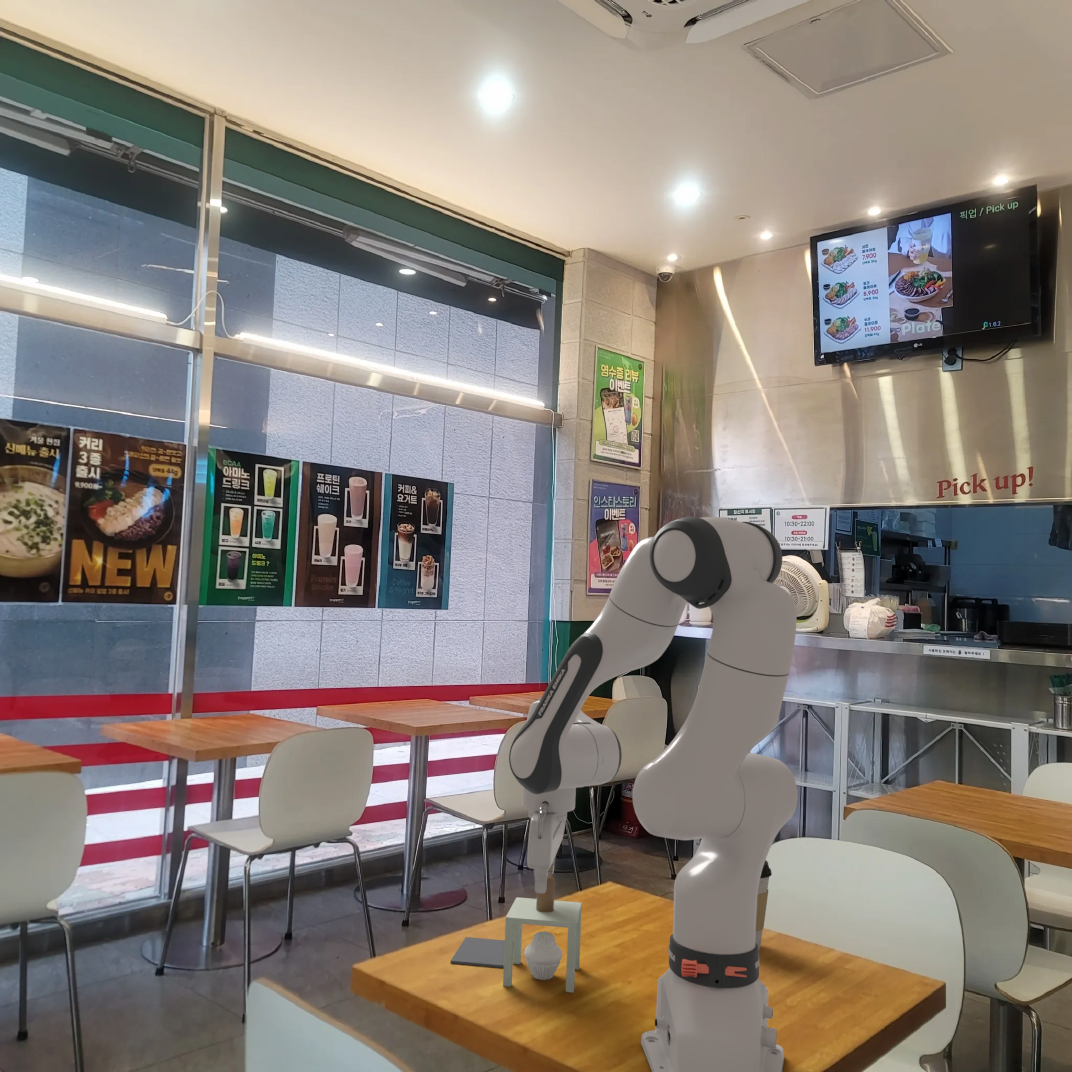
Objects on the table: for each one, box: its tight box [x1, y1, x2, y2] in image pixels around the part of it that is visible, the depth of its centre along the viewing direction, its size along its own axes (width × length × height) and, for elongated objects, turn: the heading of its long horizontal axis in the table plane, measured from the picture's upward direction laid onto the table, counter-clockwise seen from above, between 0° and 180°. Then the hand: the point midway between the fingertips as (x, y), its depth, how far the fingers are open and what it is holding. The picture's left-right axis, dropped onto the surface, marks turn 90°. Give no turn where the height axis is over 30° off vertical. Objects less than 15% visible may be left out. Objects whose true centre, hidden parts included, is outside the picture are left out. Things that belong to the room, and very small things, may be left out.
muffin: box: [523, 931, 563, 981], centre depth 148 cm, size 6×6×7 cm
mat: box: [450, 936, 514, 969], centre depth 157 cm, size 12×9×1 cm
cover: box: [502, 875, 583, 993], centre depth 148 cm, size 11×11×15 cm
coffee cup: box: [756, 859, 773, 951], centre depth 166 cm, size 10×10×15 cm
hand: (544, 883), depth 149 cm, fingers open, 8 cm apart
